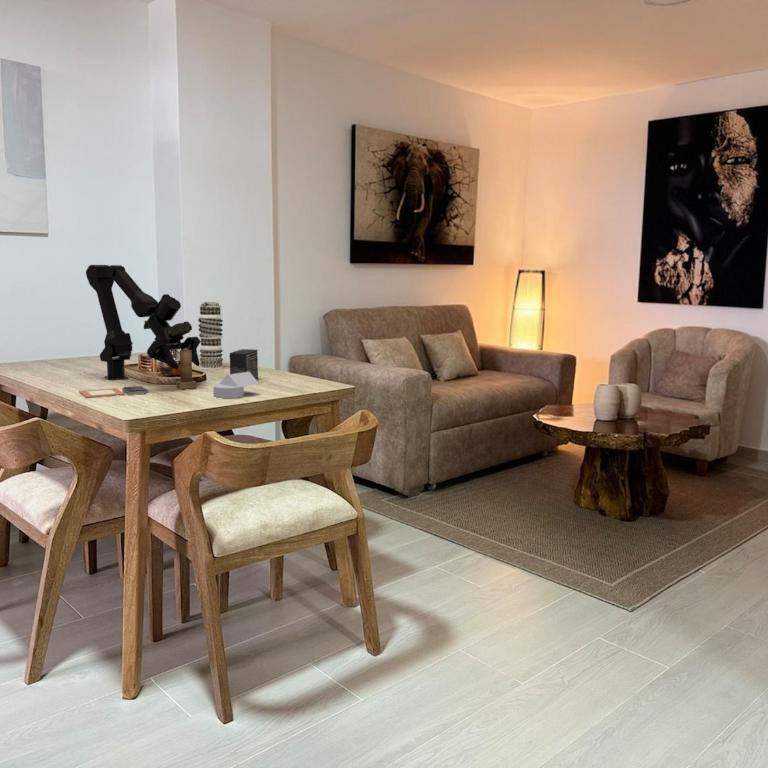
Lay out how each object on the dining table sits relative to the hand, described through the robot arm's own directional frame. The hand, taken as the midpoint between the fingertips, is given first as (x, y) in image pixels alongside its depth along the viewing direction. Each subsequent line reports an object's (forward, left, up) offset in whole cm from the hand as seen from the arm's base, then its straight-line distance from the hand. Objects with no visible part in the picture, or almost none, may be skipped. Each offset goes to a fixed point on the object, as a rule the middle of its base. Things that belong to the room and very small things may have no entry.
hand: (188, 366), depth 232 cm
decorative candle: (-40, +22, -7) cm, 46 cm away
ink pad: (-1, -16, -7) cm, 18 cm away
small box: (-7, +22, -7) cm, 24 cm away
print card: (-3, -26, -7) cm, 27 cm away
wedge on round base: (+17, +9, -7) cm, 21 cm away
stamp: (-1, 0, -7) cm, 7 cm away
